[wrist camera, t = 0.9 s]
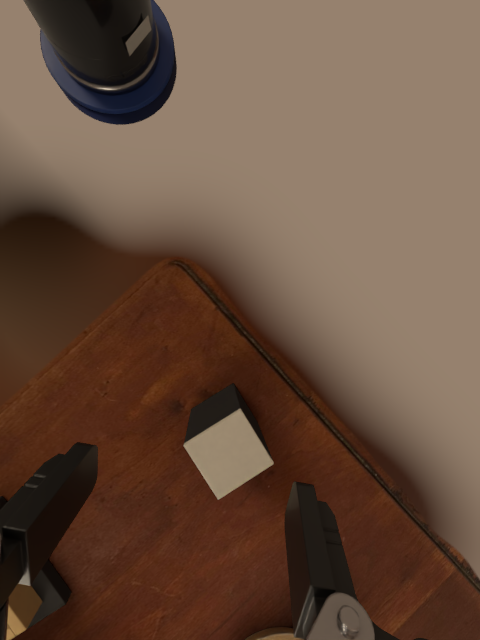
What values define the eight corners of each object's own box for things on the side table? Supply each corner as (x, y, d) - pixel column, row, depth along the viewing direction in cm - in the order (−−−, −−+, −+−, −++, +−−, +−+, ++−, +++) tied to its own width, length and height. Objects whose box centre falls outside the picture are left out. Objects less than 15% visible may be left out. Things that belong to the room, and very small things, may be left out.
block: (191, 408, 30) (183, 445, 22) (233, 382, 30) (240, 409, 22) (216, 449, 30) (218, 500, 22) (258, 423, 30) (274, 464, 22)
